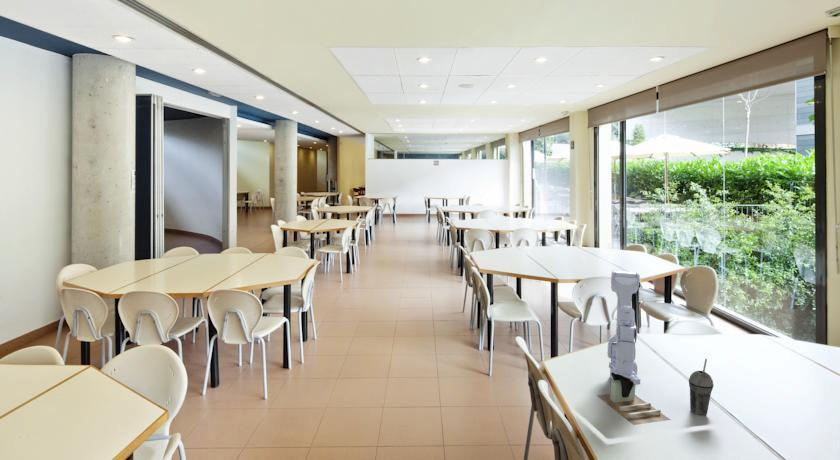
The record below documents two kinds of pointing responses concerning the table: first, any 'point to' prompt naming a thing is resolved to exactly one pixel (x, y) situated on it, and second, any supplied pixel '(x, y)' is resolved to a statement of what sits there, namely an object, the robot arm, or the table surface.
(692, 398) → the beverage cup
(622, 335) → the robot arm
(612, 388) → the door panel
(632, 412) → the track base
